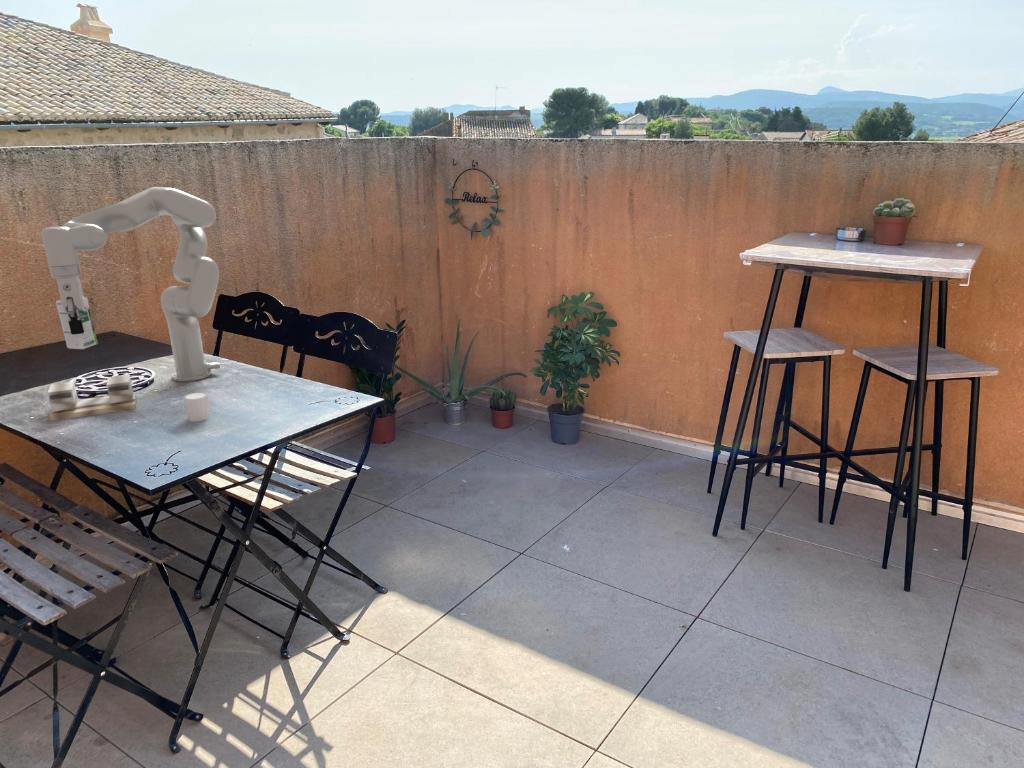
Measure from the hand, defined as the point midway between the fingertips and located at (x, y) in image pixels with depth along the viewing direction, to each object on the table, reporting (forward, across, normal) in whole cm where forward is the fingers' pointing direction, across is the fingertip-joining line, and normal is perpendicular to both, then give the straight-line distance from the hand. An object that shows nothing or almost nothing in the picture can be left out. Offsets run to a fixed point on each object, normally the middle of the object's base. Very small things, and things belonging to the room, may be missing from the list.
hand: (79, 330), depth 200 cm
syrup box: (+5, 0, 0) cm, 5 cm away
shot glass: (+25, -23, -28) cm, 44 cm away
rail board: (+25, 0, 0) cm, 25 cm away
